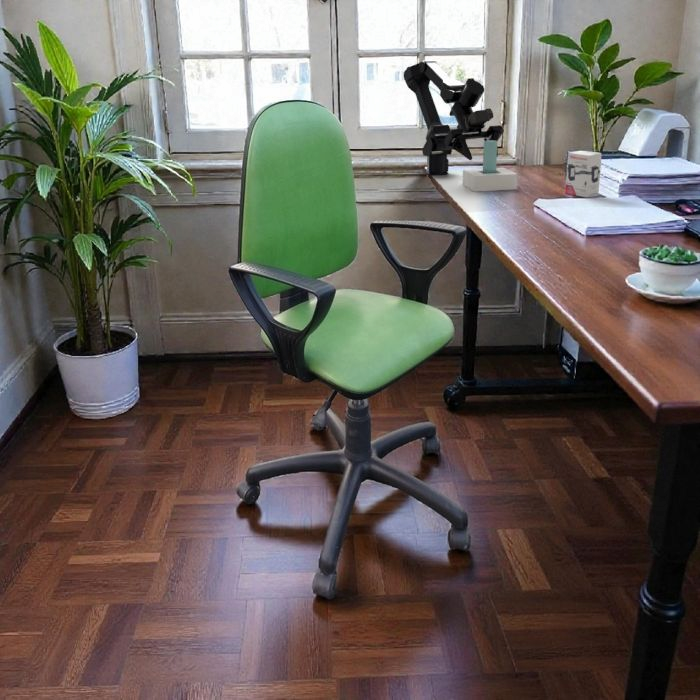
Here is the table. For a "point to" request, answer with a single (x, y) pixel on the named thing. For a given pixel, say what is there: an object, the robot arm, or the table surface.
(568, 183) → the ink box
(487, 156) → the pin
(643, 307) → the table surface
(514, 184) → the socket block
